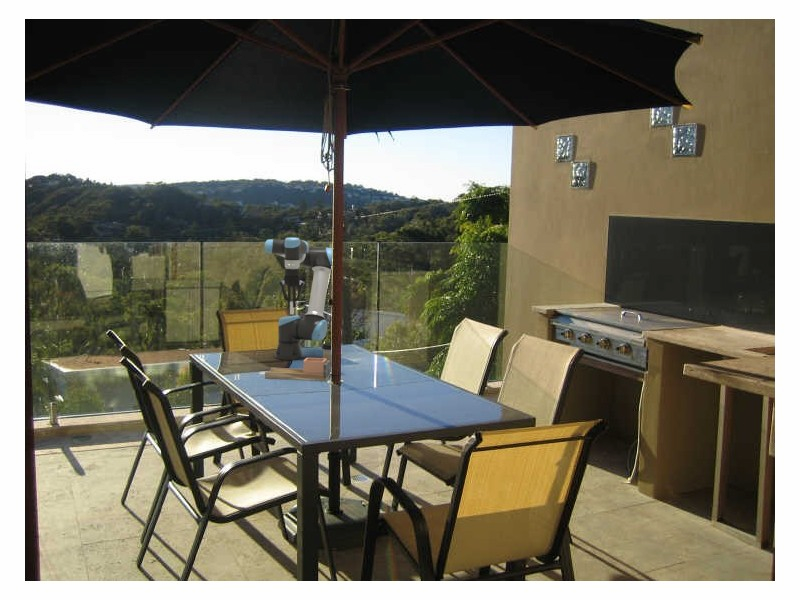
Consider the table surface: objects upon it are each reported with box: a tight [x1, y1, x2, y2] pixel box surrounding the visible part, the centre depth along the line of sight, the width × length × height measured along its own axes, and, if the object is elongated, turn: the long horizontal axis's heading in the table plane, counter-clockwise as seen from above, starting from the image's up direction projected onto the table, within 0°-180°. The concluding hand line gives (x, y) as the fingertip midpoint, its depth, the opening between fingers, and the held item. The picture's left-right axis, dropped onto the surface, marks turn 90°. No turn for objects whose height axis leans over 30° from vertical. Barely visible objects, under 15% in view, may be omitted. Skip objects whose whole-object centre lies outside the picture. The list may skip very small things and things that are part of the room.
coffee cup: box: [321, 342, 332, 372], centre depth 418 cm, size 9×9×15 cm
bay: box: [264, 360, 331, 382], centre depth 406 cm, size 12×30×8 cm, turn 85°
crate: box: [302, 357, 327, 375], centre depth 405 cm, size 9×10×8 cm
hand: (291, 313), depth 423 cm, fingers closed
